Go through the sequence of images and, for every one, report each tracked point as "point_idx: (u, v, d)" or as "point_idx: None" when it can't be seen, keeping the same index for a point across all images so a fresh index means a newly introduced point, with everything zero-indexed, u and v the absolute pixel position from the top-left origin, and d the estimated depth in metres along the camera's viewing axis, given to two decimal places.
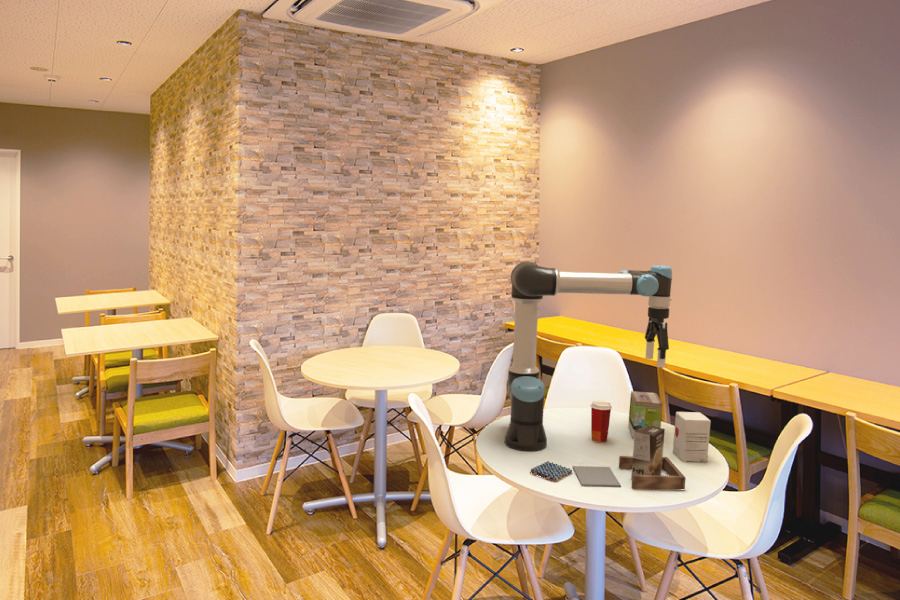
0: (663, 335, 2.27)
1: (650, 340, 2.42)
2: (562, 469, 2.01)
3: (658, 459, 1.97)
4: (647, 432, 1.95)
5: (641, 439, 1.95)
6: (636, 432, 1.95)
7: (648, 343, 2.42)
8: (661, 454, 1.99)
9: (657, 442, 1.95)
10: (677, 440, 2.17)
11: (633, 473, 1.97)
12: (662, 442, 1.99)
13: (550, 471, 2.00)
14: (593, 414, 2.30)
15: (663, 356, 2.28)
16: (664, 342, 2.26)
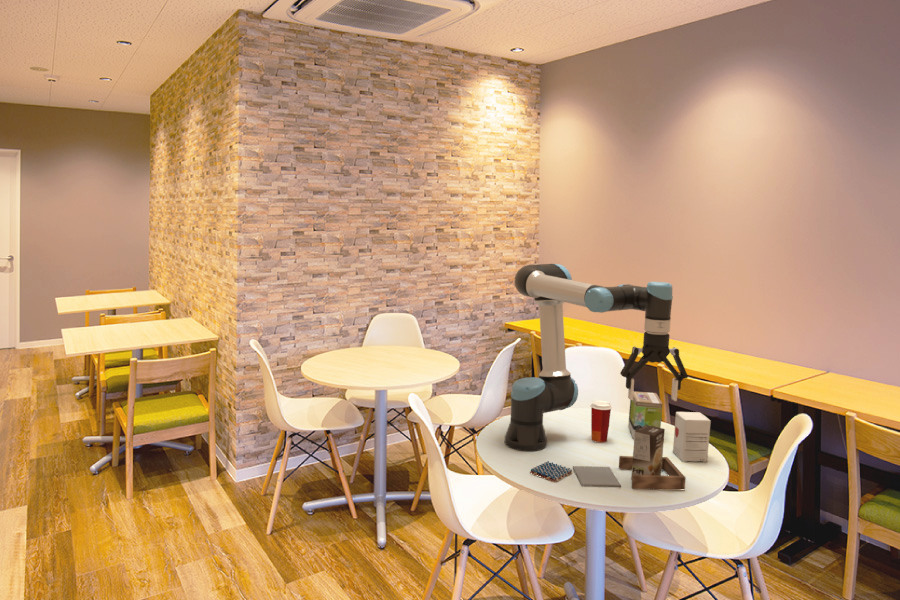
0: (628, 360, 1.95)
1: (676, 377, 1.95)
2: (562, 469, 2.01)
3: (658, 459, 1.97)
4: (647, 432, 1.95)
5: (641, 439, 1.95)
6: (636, 432, 1.95)
7: (673, 380, 1.96)
8: (661, 454, 1.99)
9: (657, 442, 1.95)
10: (677, 440, 2.17)
11: (633, 473, 1.97)
12: (662, 442, 1.99)
13: (550, 471, 2.00)
14: (593, 414, 2.30)
15: (626, 385, 1.95)
16: (624, 368, 1.95)
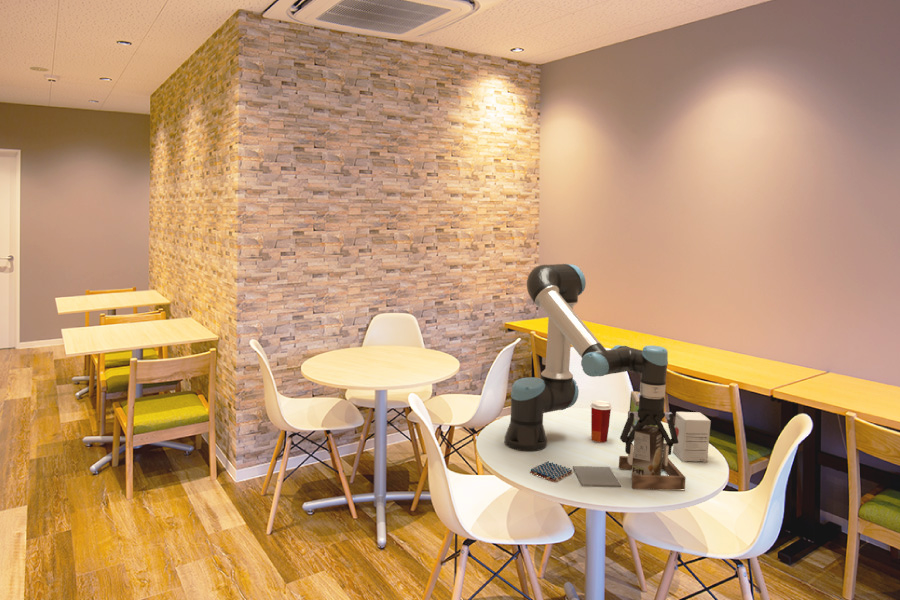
0: (625, 425, 1.97)
1: None
2: (562, 469, 2.01)
3: (658, 459, 1.97)
4: (647, 432, 1.95)
5: (641, 439, 1.95)
6: (636, 432, 1.95)
7: (664, 444, 1.99)
8: (661, 454, 1.99)
9: (657, 442, 1.95)
10: None
11: (633, 473, 1.97)
12: (662, 442, 1.99)
13: (550, 471, 2.00)
14: (593, 414, 2.30)
15: (626, 450, 1.98)
16: (622, 433, 1.97)
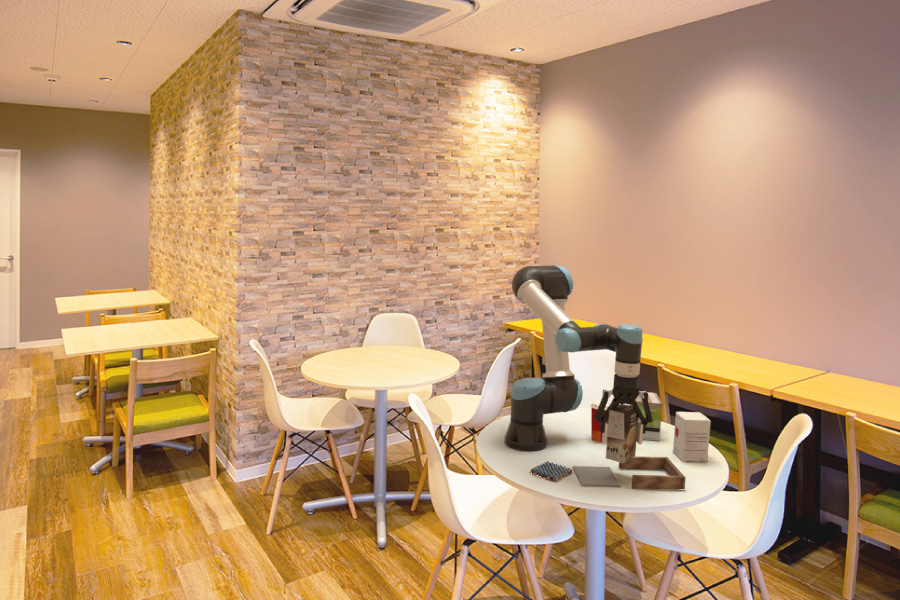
0: (600, 404, 1.97)
1: (641, 421, 1.97)
2: (562, 469, 2.01)
3: (633, 437, 1.97)
4: (621, 411, 1.94)
5: (615, 417, 1.94)
6: (611, 411, 1.95)
7: (638, 423, 1.98)
8: (636, 433, 1.98)
9: (632, 421, 1.94)
10: (677, 440, 2.17)
11: (607, 452, 1.96)
12: (637, 421, 1.98)
13: (550, 471, 2.00)
14: (593, 414, 2.30)
15: (600, 429, 1.97)
16: (597, 412, 1.97)
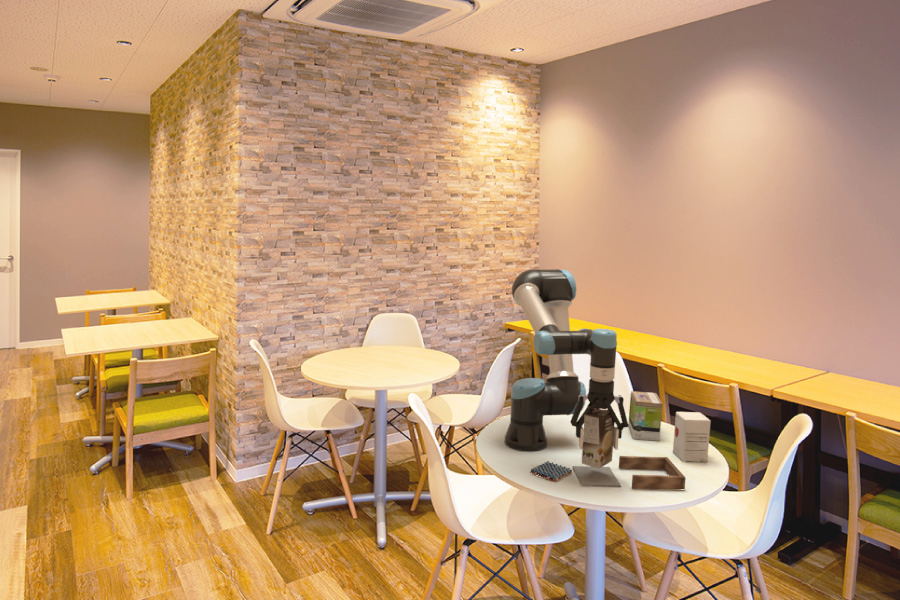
0: (575, 408, 1.97)
1: (617, 426, 1.97)
2: (562, 469, 2.01)
3: (609, 442, 1.96)
4: (596, 415, 1.94)
5: (590, 422, 1.94)
6: (586, 415, 1.95)
7: (614, 428, 1.98)
8: (612, 438, 1.98)
9: (607, 426, 1.94)
10: (677, 440, 2.17)
11: (583, 457, 1.96)
12: (613, 426, 1.98)
13: (550, 471, 2.00)
14: None
15: (576, 434, 1.97)
16: (573, 417, 1.97)
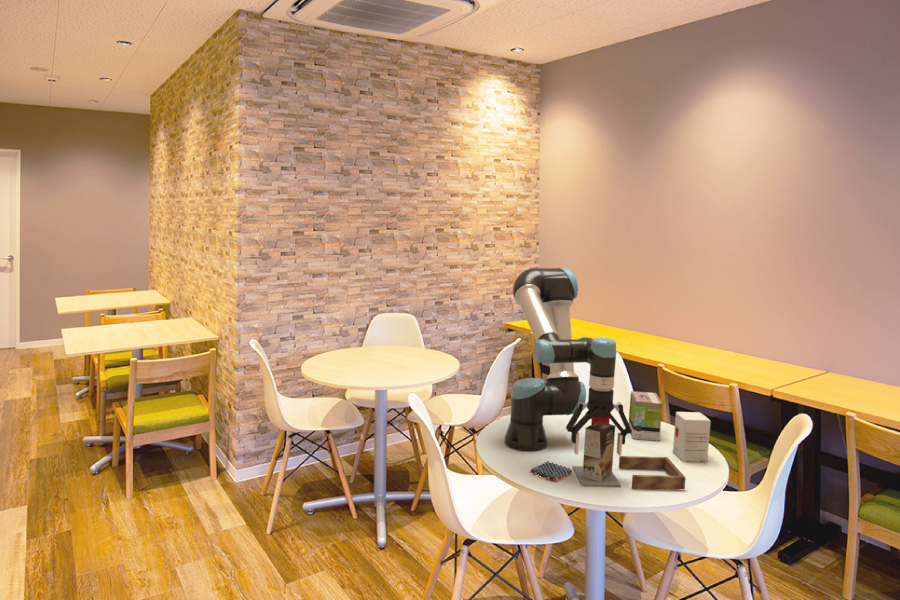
0: (573, 415, 1.97)
1: None
2: (562, 469, 2.01)
3: (609, 455, 1.97)
4: (597, 429, 1.94)
5: (591, 436, 1.94)
6: (587, 429, 1.95)
7: (618, 434, 1.98)
8: (612, 451, 1.99)
9: (608, 439, 1.95)
10: (677, 440, 2.17)
11: (584, 470, 1.97)
12: (613, 439, 1.99)
13: (550, 471, 2.00)
14: None
15: (571, 440, 1.97)
16: (569, 422, 1.97)
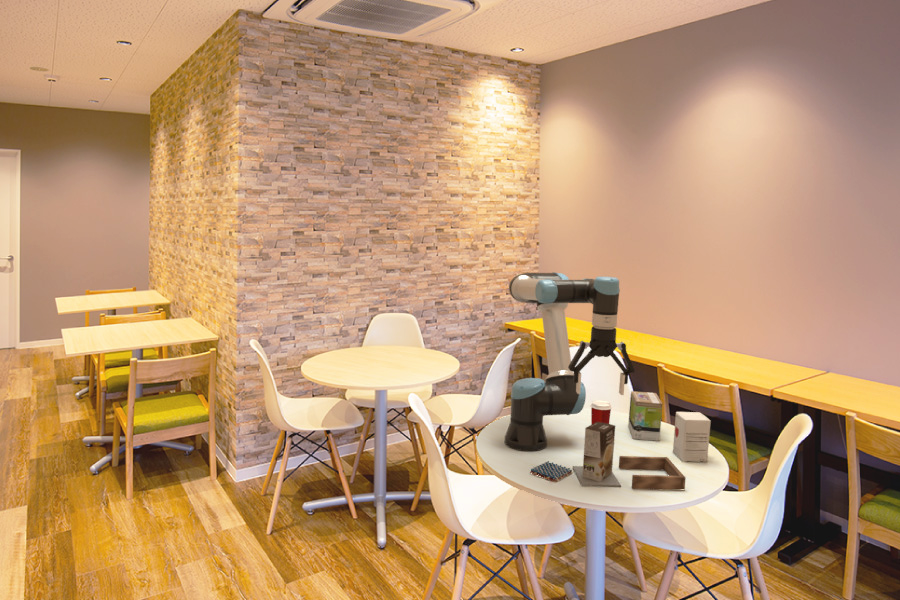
0: (575, 354, 1.96)
1: (624, 372, 1.96)
2: (562, 469, 2.01)
3: (609, 455, 1.97)
4: (597, 429, 1.94)
5: (591, 436, 1.94)
6: (587, 429, 1.95)
7: (620, 374, 1.97)
8: (612, 451, 1.99)
9: (608, 439, 1.95)
10: (677, 440, 2.17)
11: (584, 470, 1.97)
12: (613, 439, 1.99)
13: (550, 471, 2.00)
14: (593, 414, 2.30)
15: (574, 379, 1.96)
16: (571, 362, 1.96)
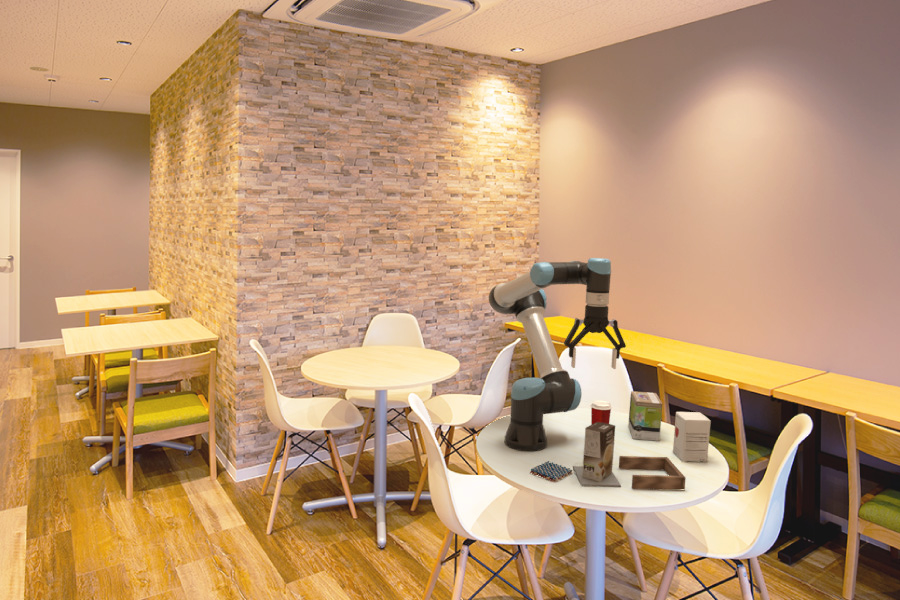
0: (570, 331, 2.10)
1: (616, 347, 2.10)
2: (562, 469, 2.01)
3: (609, 455, 1.97)
4: (597, 429, 1.94)
5: (591, 436, 1.94)
6: (587, 429, 1.95)
7: (612, 349, 2.11)
8: (612, 451, 1.99)
9: (608, 439, 1.95)
10: (677, 440, 2.17)
11: (584, 470, 1.97)
12: (613, 439, 1.99)
13: (550, 471, 2.00)
14: (593, 414, 2.30)
15: (569, 354, 2.10)
16: (567, 338, 2.10)
